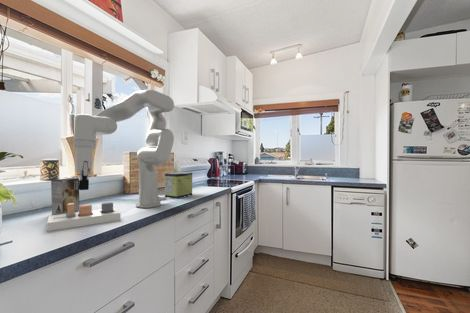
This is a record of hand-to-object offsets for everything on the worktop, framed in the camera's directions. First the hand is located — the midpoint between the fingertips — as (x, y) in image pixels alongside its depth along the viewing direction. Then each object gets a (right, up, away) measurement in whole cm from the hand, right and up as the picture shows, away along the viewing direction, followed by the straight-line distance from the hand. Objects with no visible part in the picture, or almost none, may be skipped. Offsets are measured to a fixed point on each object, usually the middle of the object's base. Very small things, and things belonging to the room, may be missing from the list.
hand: (83, 189), depth 95 cm
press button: (0, -11, +1) cm, 11 cm away
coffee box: (-18, -13, +15) cm, 27 cm away
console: (0, -13, +1) cm, 13 cm away
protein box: (+25, -13, +60) cm, 66 cm away
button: (+7, -11, +6) cm, 14 cm away
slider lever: (-4, -10, -2) cm, 11 cm away
